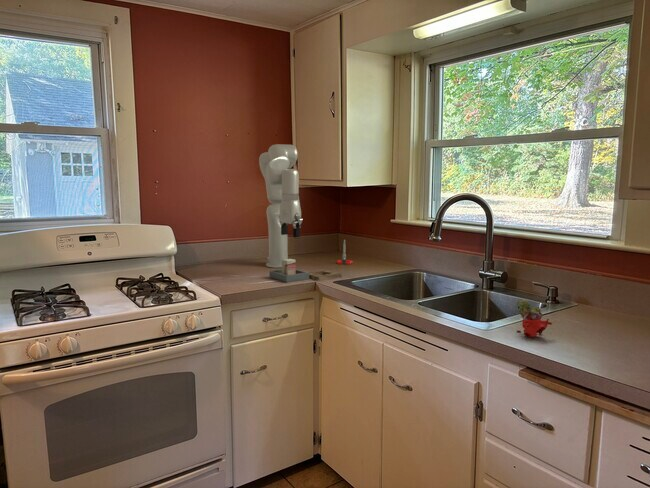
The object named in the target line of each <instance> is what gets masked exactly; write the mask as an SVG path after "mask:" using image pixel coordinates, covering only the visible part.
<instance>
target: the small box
mask: <svg viewBox="0 0 650 488" xmlns="http://www.w3.org/2000/svg"><path fill="white" fill-rule="evenodd" d="M296 263H297V262H296V259H293V258H288V259H284V260H281V264H282V267H281V269H282V274H284V275H293V274H296V269H297V268H296Z"/></svg>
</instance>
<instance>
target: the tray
mask: <svg viewBox="0 0 650 488" xmlns="http://www.w3.org/2000/svg"><path fill="white" fill-rule="evenodd" d="M309 272H310V271H305V270H300V269H297V268H296V274H293V275H284V274H282V268H281V269H280V268H279V269H275V270H269V278H270V279H273V280H276V281H280V282H282V283H286V284H288V283H289V284H290V283H294V282H301V281H307V280H310V278H309Z"/></svg>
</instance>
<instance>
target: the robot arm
mask: <svg viewBox="0 0 650 488" xmlns="http://www.w3.org/2000/svg"><path fill="white" fill-rule="evenodd" d="M298 156H299V153H298V149H297V147H296V146H295V145H294V144H281V143H280V144H278V143H276V144H272V145H270V147H269V148H268V151H266V152H263V153H261V154H260V156H259V159H258V165H259V169H260V172H261V175H262V176H263V178H264V182H265V188H266V189H265V190H266V197H267V201H268V202H269V203H270V204H269V205H268V206H267V208H266V212H265V213H266V220H267V227H268V256H267V257H266V259H267V260H268V262H266V263H265V266H266V267H267V268H276V269H278V268H279V269H280V268H281V269H282V264H281V260H284V259H289V256H288V253H289V251H288V250H289V249H288V246H289V245H288V242H289V241H288V232H289V231H288V229H289V228H288V227H289V226H288V225H291V224H292V227H293V228H292V238H301V236H300V235H301V226H302V223H303V218H302V209H301V202H300V196H299V193H300V191H299V183H300V182H299V179H300V175H299V171H298V170H297V169H295V168H292V167H294V165H295V163H296V162H297V160H298Z"/></svg>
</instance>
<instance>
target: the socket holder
mask: <svg viewBox="0 0 650 488" xmlns="http://www.w3.org/2000/svg"><path fill="white" fill-rule="evenodd" d="M308 272H309V279H311V280H314V281H317V282H318V281H319V282H320V281H325V280H332V279H338V278H342V277H343V274H342V273H341V272H336V271H332V270H328V269H319V270H313V271H308Z"/></svg>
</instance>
